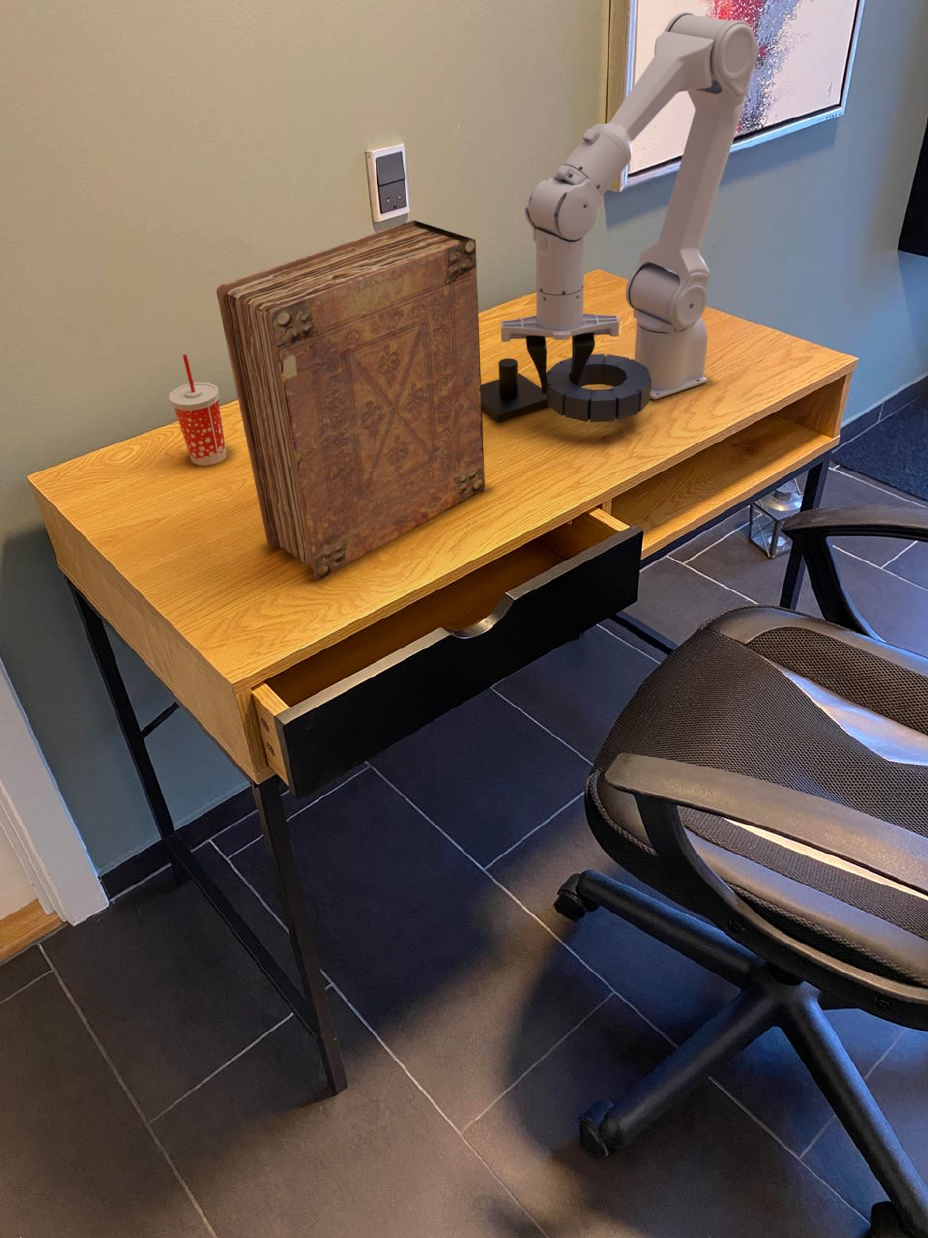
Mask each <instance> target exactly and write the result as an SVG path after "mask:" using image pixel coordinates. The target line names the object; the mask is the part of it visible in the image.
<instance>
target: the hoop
mask: <svg viewBox="0 0 928 1238" xmlns="http://www.w3.org/2000/svg"><path fill="white" fill-rule="evenodd" d="M571 367H572V357H569V358H565V359H563V360H560V361H559V362H556V363H555V364H554V365H552V366H551V368H549V369H548V370H546V373H547V394H546V398H547V405H549V406H548V408H549V409H551V410H552V411H553V412H555V413H557V414H558V415H559V416H561V417H564V418H567V419H570V420H576V421H580V422H584V423H588V422H590V423H607V422H616V420H617V421H622V420H625V419H627V418H630V417H634V416H636V415H638V414H639V413H642V411H643V410H644V409H645V408H646V407H647V406H648V405H649V403H650V401H651V398H650V393H651V376H650V373H649V370H648V369H647V367H645V366H644V365H642V364H640V363H638V362H637V361H635V360H634V358H631V359H630V357H627V356H621V355H615V354H610V353H607V354H605V353H592V354H591V355H590V357H589V359H588V360H587V362H586V364H585V367H584V369H583V371H582V374H581V377H580V380H579V384H578V386H577V385H576V384H574V383H573V382H571ZM600 385H603V386H607V387H610V388H603V389H602V388H601V389H600V388H599V389H592V388H587V387H586V386H600Z"/></svg>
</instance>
